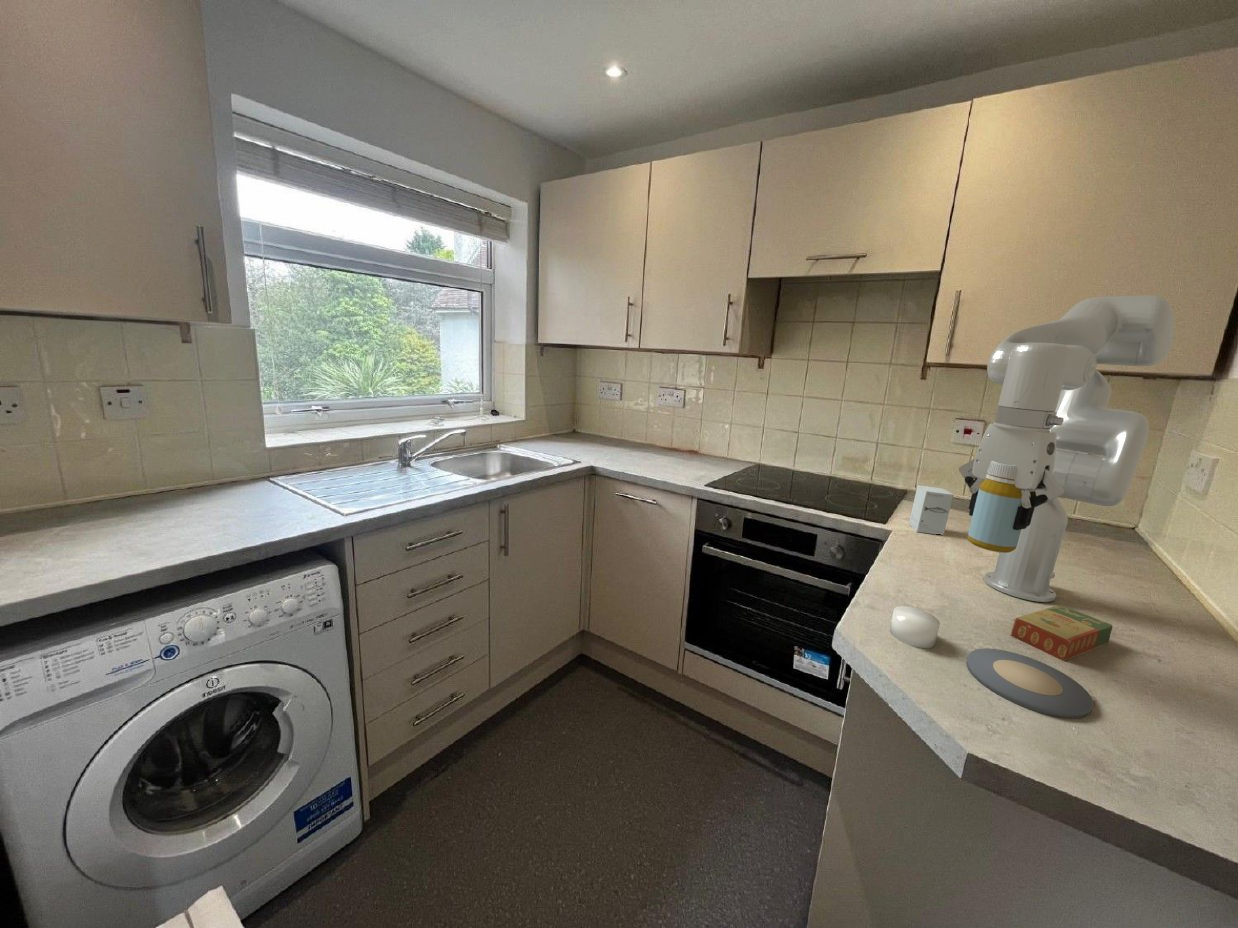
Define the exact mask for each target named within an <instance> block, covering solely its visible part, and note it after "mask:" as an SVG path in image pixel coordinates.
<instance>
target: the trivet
mask: <svg viewBox="0 0 1238 928" xmlns="http://www.w3.org/2000/svg"><path fill="white" fill-rule="evenodd" d="M966 668H967V669H968V671H969V673H970V675H972V677H974V678H975V679H976V681H978V682H979V683H980V684H981V685H983V686H984V687H986V688H987V689H988V690H990V691H991V692H994V693H995V694H996V695H998V696H999V697H1002V698H1003V699H1005V700H1007V701H1010V702H1011V703H1014V704H1015V705H1019V706H1021V707H1023V708H1025V709H1028V710H1031V711H1034V712H1037V713H1040V714H1043V715H1048V716H1051V717H1056V718H1061V719H1080V718H1085V717H1087V716H1089V714H1090V713H1091V711H1092V709H1093V704H1094V702H1093V698H1092V696H1091V694H1090V693H1089V692H1088V691H1087V690H1086V688H1084V687H1083V686H1082V685H1081V684H1080V683H1078V681H1076V680H1074V678H1072V677H1070V676H1069V675H1067V674H1065V673H1064V672H1062V671H1060V670H1059V669H1057V668H1055V667H1053V666H1050V665H1048V664H1046V663H1044V662H1042V661H1040V660H1037V659H1034V658H1032V657H1028V656H1027V655H1023V654H1020V653H1016V652H1012V651H1009V650H1004V649H998V648H989V647H988V648H987V647H986V648H977V649H974V650H971V651H970V652H969V653H968V655H967V659H966Z"/></svg>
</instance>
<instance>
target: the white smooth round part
mask: <svg viewBox="0 0 1238 928" xmlns="http://www.w3.org/2000/svg"><path fill="white" fill-rule="evenodd" d="M940 625H941V621H940V620H939V619H938V618H937V617H936V616H935V615H933V614H932V613H930V612H927V611H925V610H923V609H920V608H918V607H917V608H916V607H912V606H911V607H910V606H905V605H900V606H896V607H894V608H893V613H892V616H891V621H890V625H889V628H888V629H889V633H890V635H892V637H893V638H895V639H896V640H898V641H900V642H902V643H903V644H906V645H908V646H912V647H915V648H919V649H920V648H921V649H931V648H934V646H935V645H936V641H937V637H938V633H939V630H940Z"/></svg>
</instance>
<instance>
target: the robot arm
mask: <svg viewBox="0 0 1238 928" xmlns="http://www.w3.org/2000/svg"><path fill="white" fill-rule="evenodd" d="M1174 334H1175V333H1174V312H1173V307H1172V305H1171V303H1170V302H1169V301H1168V300H1167V299H1166V298H1164V297H1162V296H1159V295H1149V294H1148V295H1145V294H1143V295H1109V296H1108V295H1107V296H1102V295H1101V296H1094V297H1090V298H1086V299H1083V300H1081V301H1079V302H1078V303H1076V304H1075V305H1073V306H1072V307H1071V308H1070V309H1069V310H1068V311H1067V312H1066V313H1065V314H1064V315H1063V316H1062V317H1061V318H1060V319H1058V320H1057V319H1056V320H1053V321H1049V322H1045V323H1041V324H1037V325H1034V326H1030V327H1026V328H1021V329H1020V330H1017V331H1014V332H1012V333H1010V334H1009V335H1008V336H1006V337H1005V338H1004V339H1003V340H1002V341H1001V342H1000V343H999V344H998V345H997V346H996V347H995V348H994V350H993V351H992V353H991V354H990V357H989V359H988V362H987V365H986V369H987V370H986V373H987V375H988V379H990V381H991V382H993V383H994V384H995V385H999V386H1002V388H1001V391H1000V395H999V400H998V402H997V403H998V404H997V408H996V411H995V416H994V419H993V422H992V423H989V424H988V426H987V428H986V429H985V432H984V434H983V435H982V438H981V440H980V443H979V445H978V448H977V451H976V454H975V457H974V458H973V459H971V460H970V461H967V462H966V463H964V464H963V465H961V466H959V467H958V471H959V474H960V475H961V477H963V479H964V482H965V484H966V485H967V487H968V488H969V492H970V494H971V497H970V501H969V506H968V509H969V513H968V515H969V516H970V517H972V516H973V512H974V508H975V503H976V499H977V495H978V491H979V488H980V485H981V483H982V482H983V481H984V480H985V479H986V475H987V474H989V473H988V472H987V471H988V468H989V467H990V463H991V461H994V462H997V463H1002V464H1006V465H1012V466H1017V470H1016V478H1015V479H1014V481H1016V485H1015V484H1014V485H1015V486H1016V488H1018V489H1020V490H1021V492H1022V497H1021V502H1022V507H1020V506H1019V507H1018V510H1017V514H1016V518H1015V521H1014V525H1013V529H1015V530H1021V533H1020V536H1019V540H1018V544H1017V547H1016V549H1015V550H1013V551H1011V552H1009V553H1003V552H998V553H999V554H998V557H997V562H996V565H995V568H994V571H989V572H986V573H985V574H984V577H983V581H984V582H985V583H986V584H987V585H989V586H990V587H991V588H993V589H995V590H997V591H999V592H1002V593H1004V594H1007V595H1009V596H1012V597H1015V598H1019V599H1023V600H1026V601H1031V602H1032V601H1033V602H1037V603H1039V602H1040V603H1049V602H1050V603H1051V602H1054V601H1055V599H1056V597H1057V593H1056V592H1055V591H1054V590H1053V589H1052V588H1050V587H1049V585H1050V582H1051V579H1054V578H1055V577H1056V574H1055V572H1054V569H1055V565H1056V563H1057V559H1058V556H1059V552H1060V550H1061V546H1062V542H1063V539H1064V535H1065V531H1066V528H1067V527H1068V521H1069V520H1068V514H1067V512H1066V510H1065V508H1064V506H1063V505H1062V503H1061V502H1060V499H1067V500H1073V501H1078V502H1082V503H1085V504H1091V505H1095V506H1102V507H1114V506H1117V505H1119V504H1120V503H1121V502H1123V500H1124V499H1125V498H1126V496H1127V494H1128V492H1129V490H1130V487H1131V485H1132V482H1133V479H1134V476H1135V474H1136V471H1137V469H1138V465H1139V463H1140V460H1141V458H1142V455H1143V452H1144V450H1145V447H1146V444H1147V441H1148V438H1149V433H1150V422H1149V421H1148V419H1147V417H1146V416H1145V415H1144V414H1142V413H1139V412H1137V411H1131V410H1124V409H1115V408H1109V407H1108V408H1107V405H1108V403H1109V400H1110V398H1111V396H1112V386H1111V385H1110V383H1109V381H1108V380H1107V379H1106V377H1104V375H1103V374H1102V373H1101V372H1100V371H1099V370H1097V365H1108V366H1125V367H1126V366H1127V367H1152V366H1156V365H1158V364H1160V363H1162V362H1163V361H1164V360H1165V359H1166V358H1167V356H1168V355H1169V354H1170V352H1171V349H1172V346H1173V342H1174ZM1091 454H1092V455H1091ZM1059 498H1060V499H1059Z"/></svg>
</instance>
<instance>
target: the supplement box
mask: <svg viewBox="0 0 1238 928" xmlns="http://www.w3.org/2000/svg"><path fill="white" fill-rule="evenodd" d="M953 498H954V494H953V493H952V492H950V491H949V490H947V489H945V488H941V487H932V486H927V485H919V484H918V485H917V487H916V491H915V495H914V500H913V504H912V509H911V511H910V512H911V514H910V517H909V522H908V525H909V526H910V525H911V526H912V527H911V526H910V527H911V528H912V529H913V530H914V531H915V530H916V531H917V532H916V531H915V532H916V533H923V534H925V533H926V534H930V535H936V534H941V535H943V536H944V535H945V531H946V527H947V522H948V518H949V514H950V509H951V506H952V502H953ZM941 535H940V536H941Z"/></svg>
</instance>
